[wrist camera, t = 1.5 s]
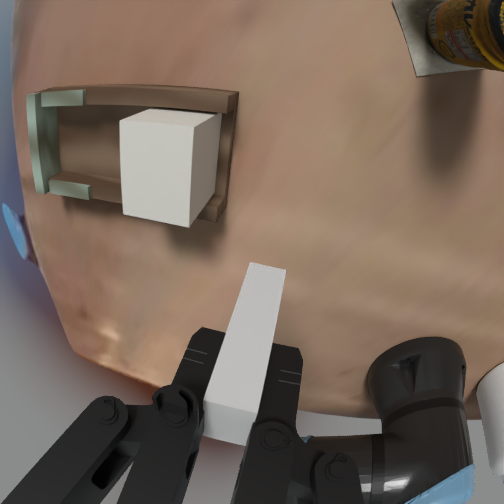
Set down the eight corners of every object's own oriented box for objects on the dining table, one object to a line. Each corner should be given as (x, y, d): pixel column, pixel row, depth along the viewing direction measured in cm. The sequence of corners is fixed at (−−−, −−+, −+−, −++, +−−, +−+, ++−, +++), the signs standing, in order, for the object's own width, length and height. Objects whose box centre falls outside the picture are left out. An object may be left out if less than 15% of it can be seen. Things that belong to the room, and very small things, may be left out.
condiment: (493, 68, 19) (573, 85, 9) (416, 76, 22) (476, 90, 12) (472, -5, 16) (545, -25, 6) (390, -1, 19) (436, -36, 9)
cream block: (214, 192, 31) (188, 227, 25) (158, 182, 31) (123, 214, 26) (222, 111, 26) (194, 127, 21) (160, 105, 27) (119, 120, 21)
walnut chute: (226, 206, 33) (213, 227, 29) (59, 177, 35) (36, 192, 31) (238, 91, 26) (225, 97, 22) (53, 87, 28) (26, 95, 24)
